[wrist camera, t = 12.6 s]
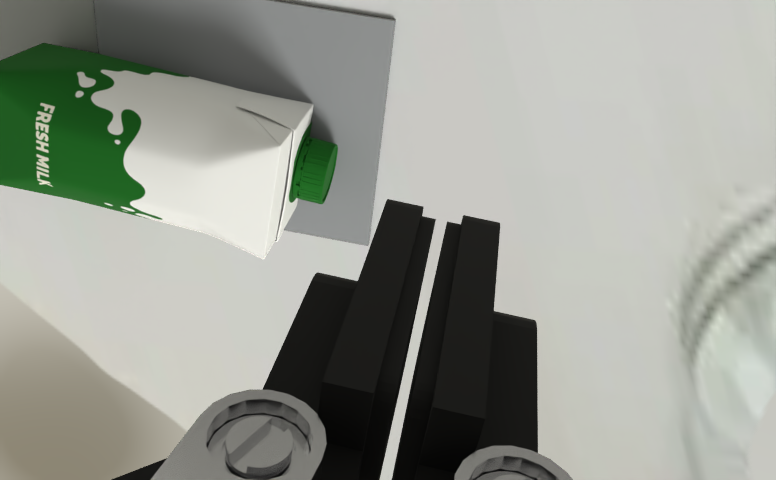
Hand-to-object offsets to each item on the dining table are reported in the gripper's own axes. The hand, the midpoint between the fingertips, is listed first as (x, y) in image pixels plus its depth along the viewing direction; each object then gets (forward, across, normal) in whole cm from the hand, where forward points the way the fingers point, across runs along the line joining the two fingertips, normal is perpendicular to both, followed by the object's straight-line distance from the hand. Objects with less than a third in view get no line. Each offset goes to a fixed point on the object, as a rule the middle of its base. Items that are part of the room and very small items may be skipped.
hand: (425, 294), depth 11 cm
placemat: (+35, +14, +14) cm, 41 cm away
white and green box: (+30, +28, +15) cm, 44 cm away
